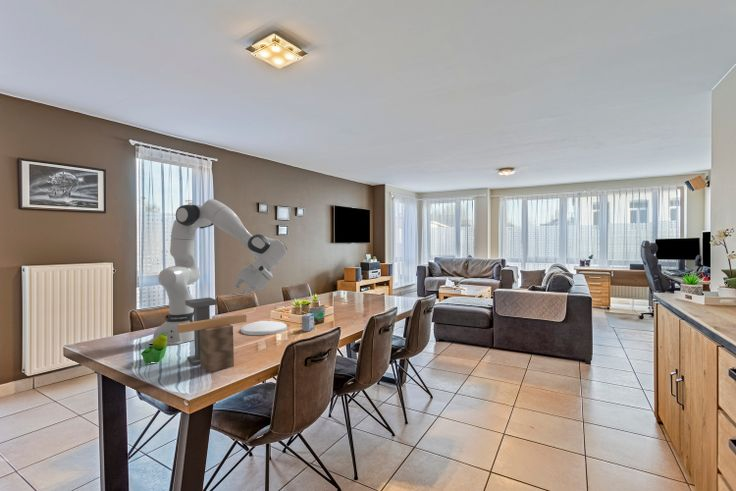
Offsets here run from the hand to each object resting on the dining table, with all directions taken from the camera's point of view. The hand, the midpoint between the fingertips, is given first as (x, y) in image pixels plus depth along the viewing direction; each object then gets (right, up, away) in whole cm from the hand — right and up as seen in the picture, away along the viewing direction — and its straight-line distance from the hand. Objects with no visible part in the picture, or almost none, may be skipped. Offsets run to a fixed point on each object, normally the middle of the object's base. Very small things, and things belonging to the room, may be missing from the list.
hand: (239, 291), depth 164 cm
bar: (-4, -12, -19) cm, 22 cm away
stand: (-12, -28, -10) cm, 33 cm away
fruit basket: (-33, -29, -9) cm, 45 cm away
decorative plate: (-1, -28, +41) cm, 50 cm away
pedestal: (-3, -28, -18) cm, 34 cm away
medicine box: (+25, -27, +38) cm, 53 cm away
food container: (+30, -27, +54) cm, 67 cm away
